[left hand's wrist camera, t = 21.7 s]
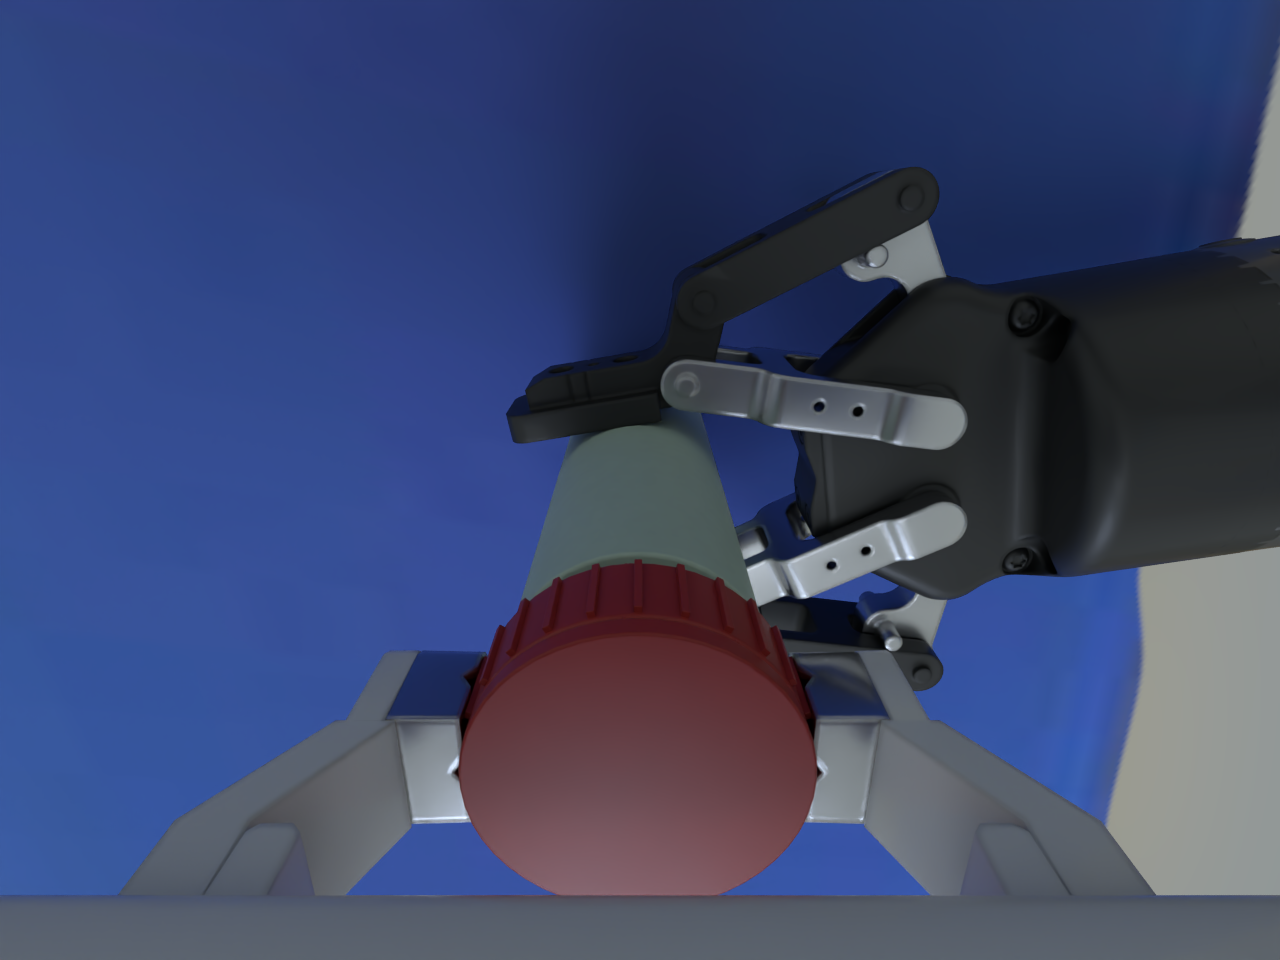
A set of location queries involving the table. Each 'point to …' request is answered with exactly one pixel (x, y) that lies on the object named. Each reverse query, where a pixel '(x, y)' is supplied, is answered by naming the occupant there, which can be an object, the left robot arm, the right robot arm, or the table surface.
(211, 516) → the table surface
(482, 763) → the lid
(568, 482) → the jar
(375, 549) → the table surface
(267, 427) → the table surface
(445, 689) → the left robot arm
